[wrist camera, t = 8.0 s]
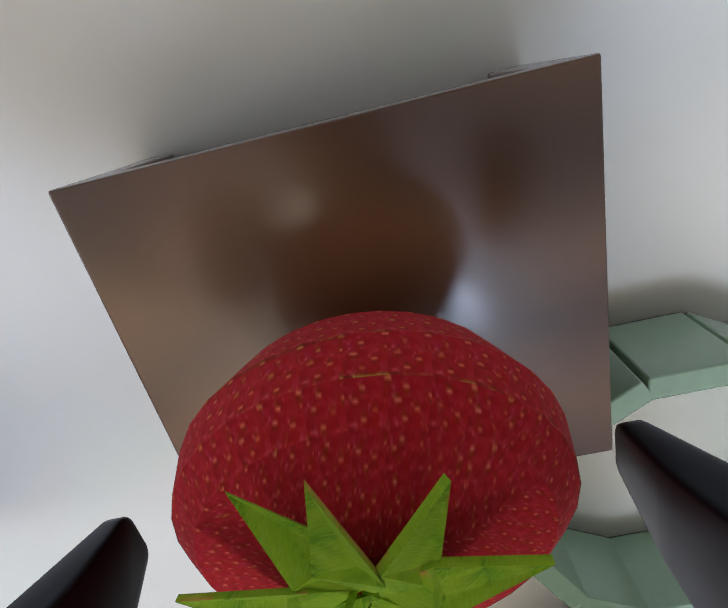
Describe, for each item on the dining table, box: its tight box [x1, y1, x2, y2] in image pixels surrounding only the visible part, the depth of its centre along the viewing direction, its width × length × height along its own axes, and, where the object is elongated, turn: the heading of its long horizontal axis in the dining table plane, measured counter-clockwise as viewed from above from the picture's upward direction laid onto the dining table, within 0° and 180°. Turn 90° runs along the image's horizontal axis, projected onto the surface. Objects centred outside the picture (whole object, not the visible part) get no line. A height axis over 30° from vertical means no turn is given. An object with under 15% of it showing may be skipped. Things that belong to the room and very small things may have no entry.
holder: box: [534, 313, 728, 608], centre depth 22 cm, size 14×14×4 cm
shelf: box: [49, 53, 612, 456], centre depth 17 cm, size 12×14×6 cm
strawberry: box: [171, 311, 581, 608], centre depth 10 cm, size 6×8×10 cm
